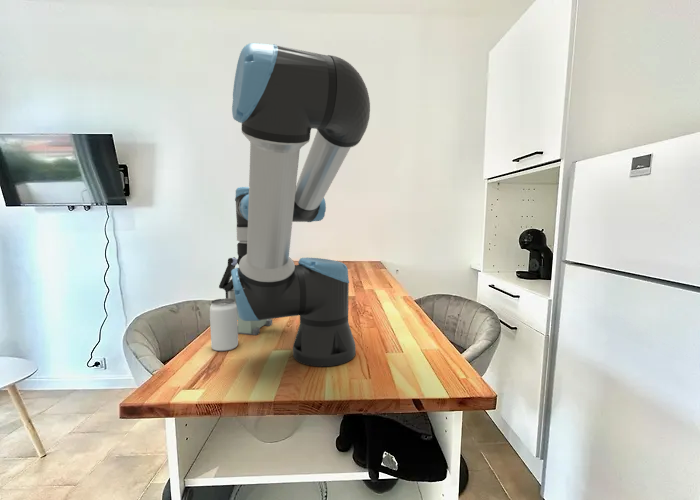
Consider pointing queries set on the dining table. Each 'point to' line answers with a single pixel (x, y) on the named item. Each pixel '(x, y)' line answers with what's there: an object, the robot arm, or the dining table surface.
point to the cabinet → (256, 330)
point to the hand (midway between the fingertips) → (252, 313)
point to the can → (223, 324)
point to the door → (249, 325)
